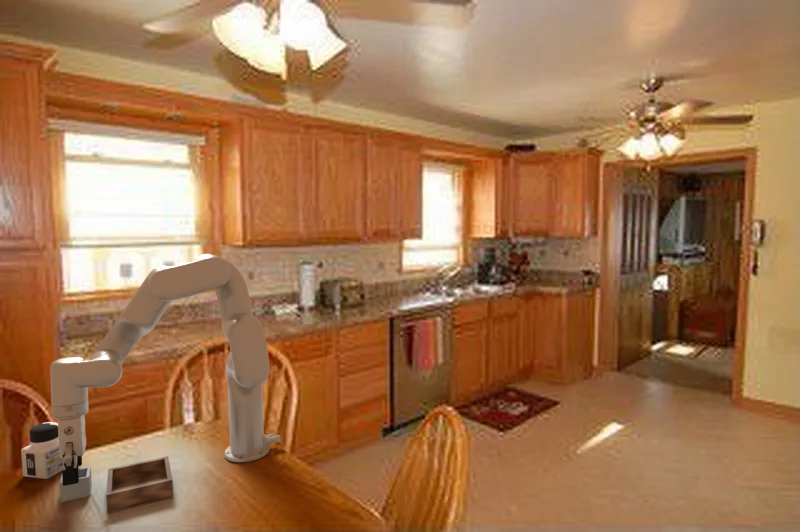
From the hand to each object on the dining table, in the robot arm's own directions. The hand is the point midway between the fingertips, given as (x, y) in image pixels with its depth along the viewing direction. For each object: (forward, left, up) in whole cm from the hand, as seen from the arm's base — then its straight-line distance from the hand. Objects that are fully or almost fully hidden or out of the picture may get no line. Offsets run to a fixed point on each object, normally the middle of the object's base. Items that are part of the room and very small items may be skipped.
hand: (72, 475), depth 123 cm
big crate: (-15, +7, -5) cm, 17 cm away
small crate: (-1, 0, -5) cm, 5 cm away
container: (+7, -17, -5) cm, 19 cm away
